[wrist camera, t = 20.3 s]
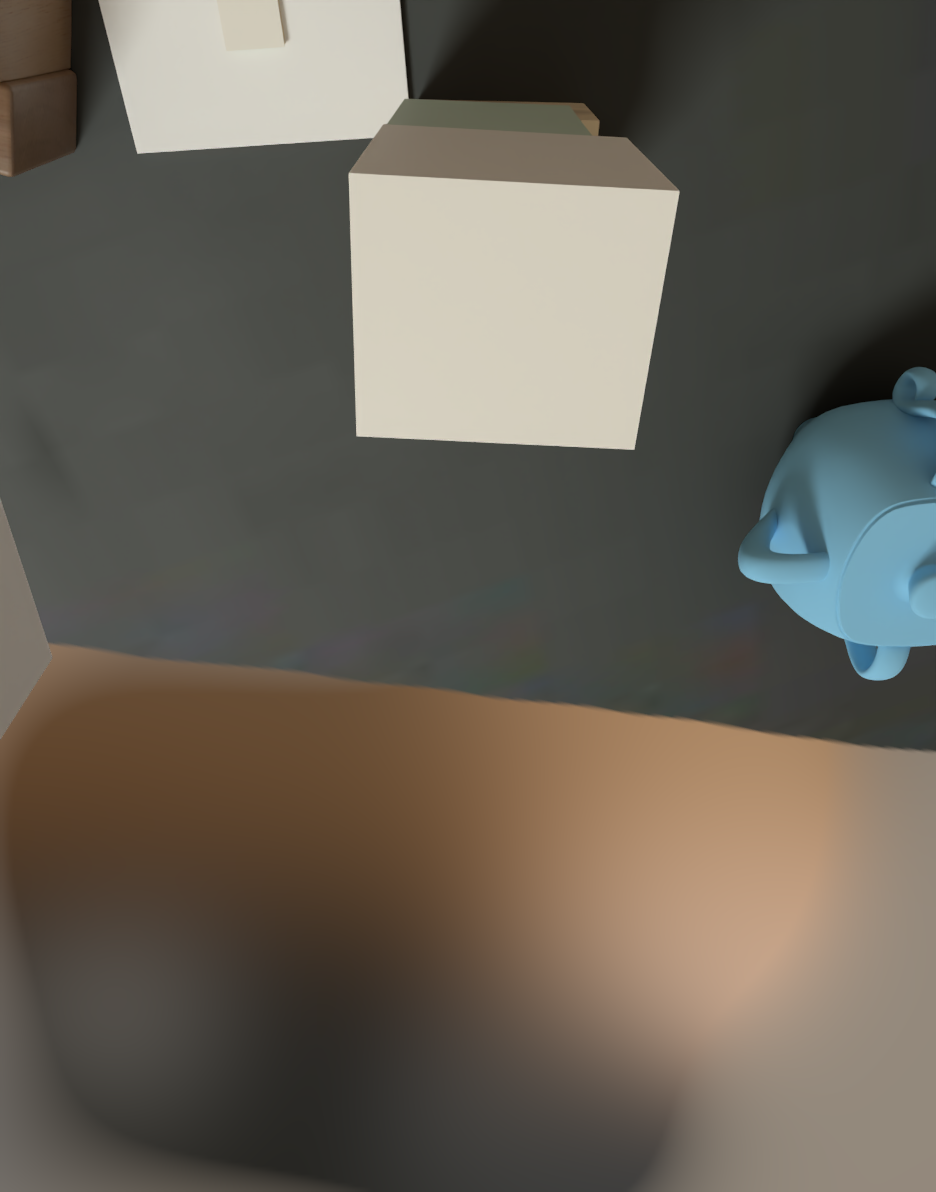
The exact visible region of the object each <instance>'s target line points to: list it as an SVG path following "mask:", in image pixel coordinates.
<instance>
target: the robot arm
mask: <svg viewBox="0 0 936 1192" xmlns="http://www.w3.org/2000/svg"><path fill="white" fill-rule="evenodd" d="M51 659H52V655H51V652H50V649H49V646H48V643H47V639H46V636H45V633H44V630H43V627H42V624H41V621H40V618H39V615H38V612H37V609H36V606H35V603H34V600H33V597H32V594H31V591H30V588H29V585H28V582H27V579H26V576H25V573H24V569H23V566H22V563H21V560H20V557H19V554H18V551H17V548H16V545H15V542H14V539H13V536H12V533H11V530H10V527H9V524H8V521H7V518H6V515H5V512H4V509H3V506H2V502H1V499H0V739H1V737H2V736H3V734H4V733H5V731H6V730H7V728H8V727H9V725H10V723H11V722H12V720H13V718H14V717H15V716H16V714H17V712H18V711H19V709H20V708H21V706H22V705H23V703H24V701H25V700H26V698H27V697H28V695H29V694H30V692H31V691H32V689H33V687H34V686H35V684H36V683H37V681H38V680H39V678H40V677H41V675H42V673H43V672H44V670H45V669H46V667H47V666H48V664H49V662H50V661H51Z"/></svg>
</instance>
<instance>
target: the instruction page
mask: <svg viewBox="0 0 936 1192" xmlns="http://www.w3.org/2000/svg"><path fill="white" fill-rule="evenodd" d="M98 1H99V5H100V9H101V13H102V16H103V20H104V24H105V28H106V32H107V36H108V40H109V44H110V48H111V52H112V56H113V60H114V64H115V68H116V72H117V75H118V79H119V83H120V87H121V91H122V95H123V99H124V103H125V107H126V111H127V115H128V119H129V123H130V127H131V130H132V134H133V138H134V142H135V146H136V150H137V153H152V152H167V151H182V150H197V149H212V148H227V147H242V146H257V145H272V144H287V143H302V142H317V141H332V140H347V139H362V138H374V137H375V135H376V134H377V133H378V131H379V130H380V128H381V127H382V126H383V124H387V123H388V122H389V120H390V119H391V118H392V116H393V115H394V113H395V112H396V110H397V109H398V108H399V106H400V105H401V103H402V102H403V100H404V99H409V95H408V84H407V72H406V61H405V49H404V38H403V26H402V15H401V4H400V0H98Z"/></svg>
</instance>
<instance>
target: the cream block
mask: <svg viewBox="0 0 936 1192" xmlns="http://www.w3.org/2000/svg"><path fill="white" fill-rule="evenodd" d="M679 192H680V191H679V190H678V189H677V188H676V187H675V186H674V185H673V184H672V183H671V182H670V181H669V180H668V179H667V178H666V177H665V176H664V175H663V174H662V173H661V172H660V171H659V170H658V169H657V168H656V167H655V166H654V165H653V164H652V163H651V162H650V161H649V160H648V159H647V158H646V157H645V156H644V155H643V154H642V153H641V152H640V151H639V150H638V149H637V148H636V147H635V146H634V145H633V144H632V143H631V142H630V141H629V140H628V139H627V138H625V137H607V136H589V135H571V134H553V133H535V132H517V131H499V130H481V129H463V128H445V127H427V126H409V125H391V124H383V126H382V127H381V128H380V130H379V131H378V133H377V134H376V135H375V137H374V138H373V140H372V141H371V142H370V144H369V145H368V147H367V148H366V149H365V151H364V152H363V154H362V155H361V156H360V158H359V159H358V161H357V162H356V163H355V165H354V166H353V168H352V169H351V171H350V172H349V199H350V232H351V265H352V299H353V332H354V366H355V399H356V433H357V436H364V437H384V438H405V439H425V440H446V441H466V442H487V443H508V444H528V445H549V446H569V447H590V448H610V449H631V450H634V448H635V442H636V437H637V431H638V425H639V420H640V414H641V408H642V403H643V397H644V391H645V385H646V380H647V374H648V368H649V363H650V357H651V351H652V345H653V340H654V334H655V328H656V323H657V317H658V311H659V306H660V300H661V294H662V288H663V283H664V277H665V271H666V266H667V260H668V254H669V249H670V243H671V237H672V231H673V226H674V220H675V214H676V209H677V203H678V197H679Z"/></svg>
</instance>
